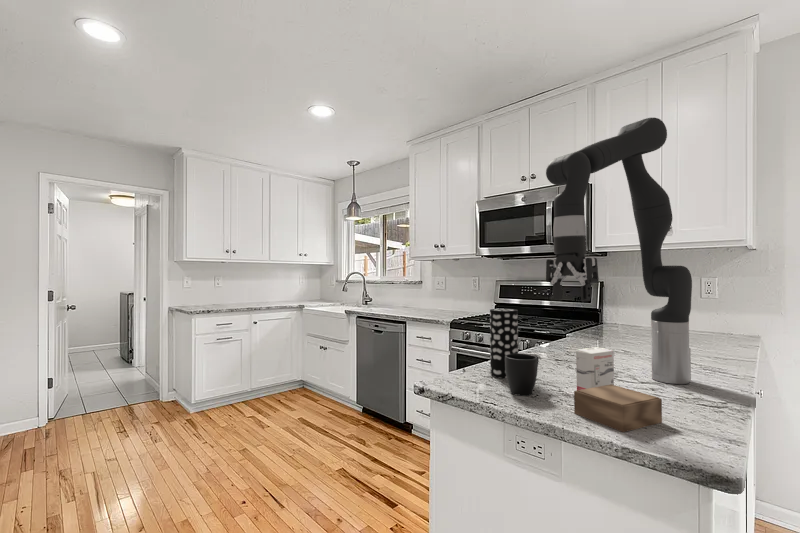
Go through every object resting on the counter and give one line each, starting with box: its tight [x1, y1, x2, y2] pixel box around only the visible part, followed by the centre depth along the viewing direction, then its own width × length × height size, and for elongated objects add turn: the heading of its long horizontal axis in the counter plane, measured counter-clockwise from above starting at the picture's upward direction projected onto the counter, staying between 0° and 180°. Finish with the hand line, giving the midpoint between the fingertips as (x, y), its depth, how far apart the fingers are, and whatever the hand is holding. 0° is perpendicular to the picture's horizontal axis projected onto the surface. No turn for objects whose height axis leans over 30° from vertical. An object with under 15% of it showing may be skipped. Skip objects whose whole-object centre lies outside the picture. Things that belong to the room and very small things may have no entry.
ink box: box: [575, 346, 615, 391], centre depth 105 cm, size 9×5×12 cm, turn 116°
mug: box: [505, 353, 539, 397], centre depth 110 cm, size 8×12×10 cm
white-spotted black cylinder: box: [489, 308, 519, 380], centre depth 127 cm, size 8×8×20 cm
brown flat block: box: [573, 384, 663, 433], centre depth 90 cm, size 12×12×5 cm
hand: (571, 300), depth 103 cm, fingers open, 8 cm apart
